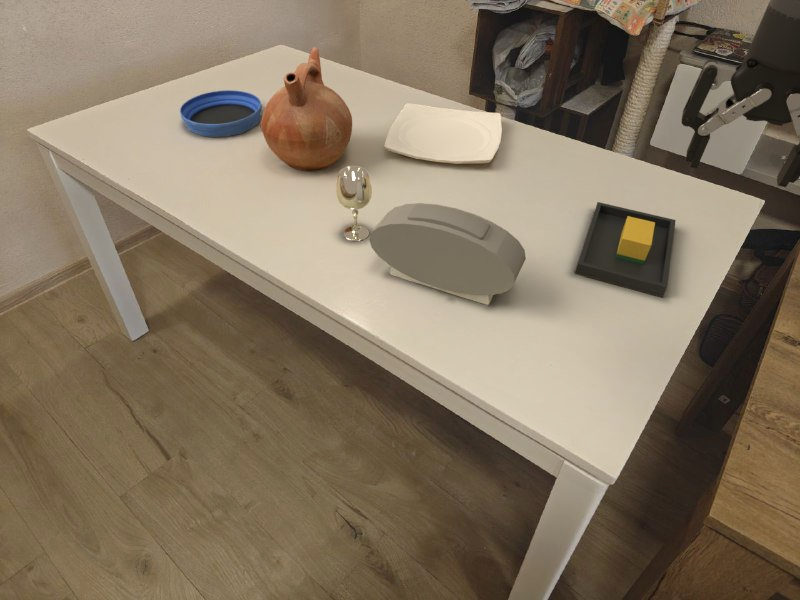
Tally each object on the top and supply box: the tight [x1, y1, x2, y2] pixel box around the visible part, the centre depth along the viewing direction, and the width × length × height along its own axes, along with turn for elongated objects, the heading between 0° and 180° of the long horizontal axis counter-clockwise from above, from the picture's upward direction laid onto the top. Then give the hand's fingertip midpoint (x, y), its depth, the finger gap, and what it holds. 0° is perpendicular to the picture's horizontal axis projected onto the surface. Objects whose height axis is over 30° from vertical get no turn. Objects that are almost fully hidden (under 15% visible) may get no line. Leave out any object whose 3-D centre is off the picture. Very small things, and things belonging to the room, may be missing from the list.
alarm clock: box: [368, 202, 527, 306], centre depth 83 cm, size 23×6×13 cm, turn 65°
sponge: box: [616, 216, 655, 264], centre depth 91 cm, size 7×4×4 cm, turn 156°
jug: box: [260, 46, 353, 172], centre depth 108 cm, size 18×18×20 cm
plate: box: [383, 102, 503, 165], centre depth 120 cm, size 24×24×3 cm
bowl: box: [179, 89, 263, 138], centre depth 126 cm, size 18×18×4 cm
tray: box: [574, 201, 677, 298], centre depth 93 cm, size 20×14×2 cm
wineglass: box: [336, 165, 373, 242], centre depth 92 cm, size 6×6×12 cm
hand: (736, 173), depth 58 cm, fingers open, 8 cm apart
